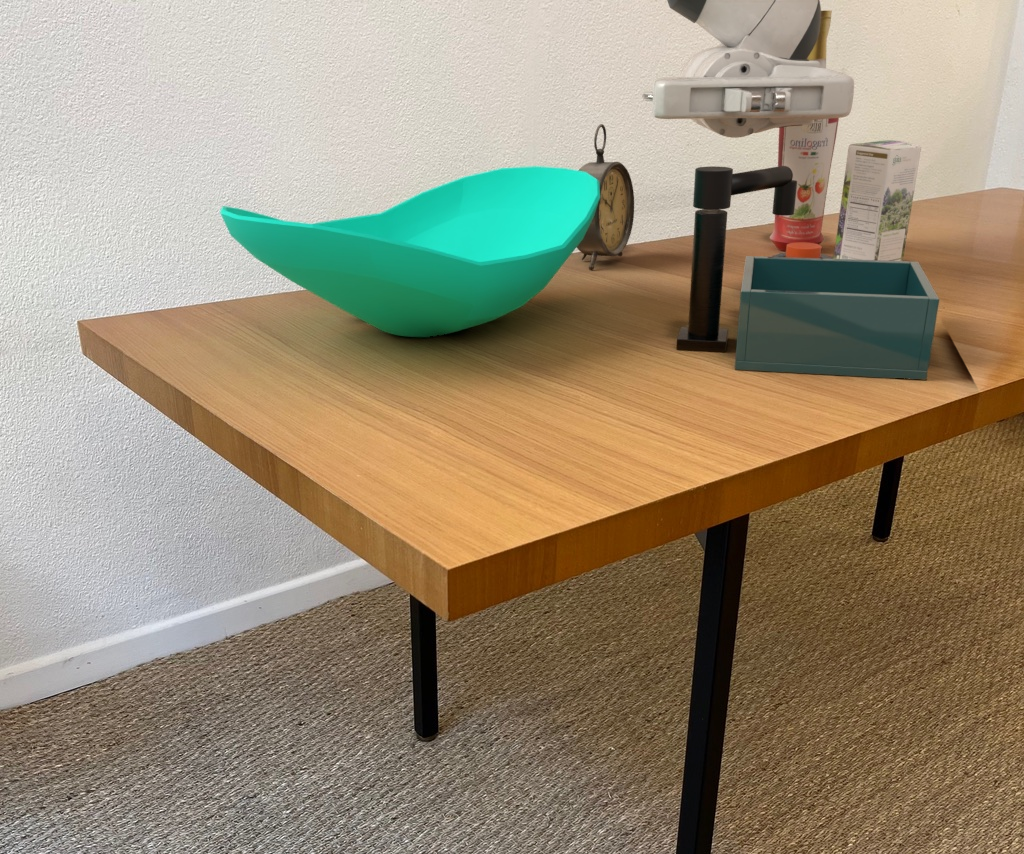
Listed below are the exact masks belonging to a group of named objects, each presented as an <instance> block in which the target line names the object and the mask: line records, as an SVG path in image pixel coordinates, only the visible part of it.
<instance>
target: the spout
mask: <svg viewBox="0 0 1024 854" xmlns="http://www.w3.org/2000/svg"><path fill="white" fill-rule="evenodd" d="M792 179H793V172H792V170H791V169H790V168H789V167H787V166H779V167H778V166H774V167H773V166H772V167H767V168H761V169H755V170H748V171H741V172H736V173H734V169H733V168H732V167H729V166H716V165H715V166H699V167H696V168H695V169H694V182H693V183H694V185H693V201H692V202H693V203H692V206H693V207H692V208H695V209H698V210H702V209H707V210H726V209H729V208H731V203H732V196H735V195H741V194H747V193H753V192H759V191H765V190H770V189H774V192H773V202H772V214H773V215H774V216H775V215H782V216H788V215H793V214H794V209H795V199H796V189H797V181H795V180H792Z"/></svg>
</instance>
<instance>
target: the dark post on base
mask: <svg viewBox="0 0 1024 854" xmlns="http://www.w3.org/2000/svg"><path fill="white" fill-rule="evenodd" d="M727 222H728V211H727V210H725V209H720V210H707V209H698V210H695V211H694V225H693V238H692V239H693V240H692V241H693V242H692V258H691V272H690V273H691V275H690V290H689V305H688V306H689V308H688V324H687V326H681V327H680V329H679V333H678V336H677V339H676V350H677V351H692V350H694V352H710V353H711V352H714V353H726V352H727V344H728V339H729V329H728V328H720V321H721V320H720V319H721V307H722V306H721V305H722V292H723V277H724V264H725V250H726V239H727V236H726V235H727V225H728V223H727Z"/></svg>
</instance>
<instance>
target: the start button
mask: <svg viewBox="0 0 1024 854" xmlns="http://www.w3.org/2000/svg"><path fill="white" fill-rule="evenodd" d="M785 253H786V257H792V258H820V256H821V254H822V245H821V244H815V243H807V242H796V243H789V244H787V247H786V251H785Z"/></svg>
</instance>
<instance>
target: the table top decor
mask: <svg viewBox="0 0 1024 854" xmlns="http://www.w3.org/2000/svg"><path fill="white" fill-rule="evenodd" d="M599 199H600V186H599V181H598V180H597V179H596V178H594V177H593V176H591V175H590V174H588V173H586V172H583V171H578V170H576V169H571V168H567V167H566V168H565V167H550V166H539V165H538V166H536V165H535V166H518V167H501V168H496V169H492V170H488V171H484V172H479V173H476V174H475V173H474V174H471V175H467V176H463V177H460V178H457V179H455V180H452V181H449V182H446V183H443V184H440V185H438V186H435V187H433V188H430V189H428V190H425V191H422V192H420V193H417V194H416V195H414V196H412V197H410V198H408V199H405V200H403V201H402V202H400V203H398V204H396V205H393V206H392V207H389V208H388V209H386V210H384V211H382V212H380V213H379V212H378V213H372V214H365V215H358V216H352V217H346V218H340V219H333V220H327V221H319V222H314V223H307V222H299V221H291V220H289V221H288V220H283V219H279V218H276V217H273V216H269V215H265V214H262V213H259V212H255V211H251V210H246V209H243V208H238V207H231V206H226V205H225V206H222V207H221V208H220V215H221V218H222V220H223V222H224V224H225V226H226V229H227V230H228V233H229V235H230V236H231V237H232V238H233V239H234V240H235V241H236V242H237V243H238V244H239V245H240V246H242V247H243V249H245V250H246V251H247V252H248V253H249V254H251V256H253V258H255V259H256V260H258V261H259V262H261V263H262V264H264V265H266V266H267V267H269V268H270V269H272V271H275V272H277V273H278V274H280V275H281V276H282V277H284V278H286V279H288V280H289V281H291V282H292V283H294V284H296V285H298V286H299V287H301V288H303V289H305V290H307V291H308V292H310V293H312V294H313V295H315V296H317V297H319V298H320V299H322V300H324V301H326V302H328V303H330V304H331V305H333V306H335V307H337V308H339V310H342V311H344V312H346V313H348V314H350V315H352V316H353V317H355V318H358V319H359V320H361V321H363V322H365V324H368V325H370V326H372V327H374V328H376V329H378V330H379V331H381V332H384V333H386V334H387V333H388V334H391V335H394V336H401V337H406V338H407V337H409V338H410V337H411V338H431V337H430V336H433V337H438V336H437V335H439V336H444V334H445V335H448V334H453V333H456V332H460V331H464V330H466V329H470V328H474V327H476V326H479V325H483V324H487V323H489V322H492V321H496V320H497V319H499V318H502V317H504V316H506V315H508V314H510V313H511V312H513V311H516V310H518V309H521V307H523V306H525V304H527V303H528V302H529V301H530V300H532V299H533V298H534V297H535V296H537V295H538V294H540V292H542V290H544V289H546V287H547V285H548V284H549V283H550V281H552V279H553V278H554V277H555V275H557V273H558V272H559V270H560V269H561V268H562V266H563V265H564V264H565V262H566V261H567V260H568V259H569V258H570V256H571V255H572V254H573V252H574V251H575V250H576V249H577V246H578V245H579V244H580V242H581V241H582V240H583V238H584V236H585V234H586V232H587V230H588V228H589V226H590V224H591V221H592V219H593V217H594V215H595V212H596V208H597V205H598V202H599Z"/></svg>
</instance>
